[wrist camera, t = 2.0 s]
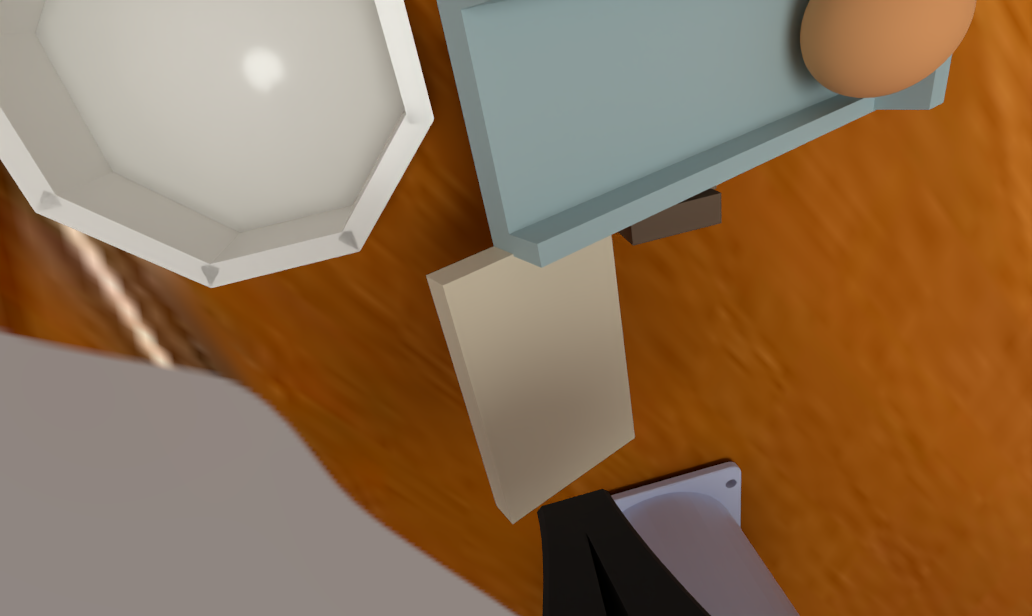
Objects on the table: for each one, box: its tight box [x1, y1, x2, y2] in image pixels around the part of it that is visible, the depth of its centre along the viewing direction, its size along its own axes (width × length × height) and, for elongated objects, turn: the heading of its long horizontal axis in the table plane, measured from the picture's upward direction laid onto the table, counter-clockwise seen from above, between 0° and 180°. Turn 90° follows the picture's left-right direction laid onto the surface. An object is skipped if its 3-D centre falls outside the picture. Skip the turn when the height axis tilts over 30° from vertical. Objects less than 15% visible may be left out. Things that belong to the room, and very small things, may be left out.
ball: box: [800, 0, 976, 98], centre depth 13 cm, size 4×4×4 cm
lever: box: [426, 0, 952, 524], centre depth 13 cm, size 12×15×3 cm
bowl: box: [0, 0, 434, 288], centre depth 12 cm, size 9×9×3 cm
